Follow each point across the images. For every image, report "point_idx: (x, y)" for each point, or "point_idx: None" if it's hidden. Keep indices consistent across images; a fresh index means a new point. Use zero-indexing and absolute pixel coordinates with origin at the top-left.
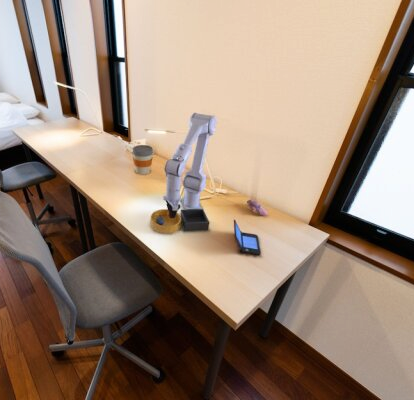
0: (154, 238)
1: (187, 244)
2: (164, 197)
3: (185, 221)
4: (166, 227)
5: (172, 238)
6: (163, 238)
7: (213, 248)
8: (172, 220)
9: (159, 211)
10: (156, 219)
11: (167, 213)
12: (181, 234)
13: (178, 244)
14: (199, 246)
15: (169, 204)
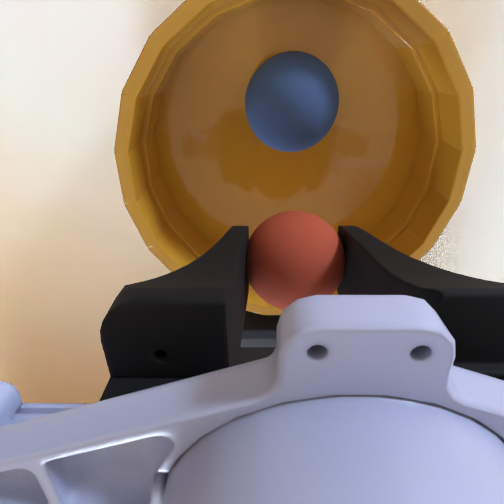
0: (67, 8)
1: (47, 278)
2: (363, 359)
3: None
4: (120, 160)
5: (96, 186)
6: (83, 107)
7: (44, 395)
8: (331, 224)
9: (452, 115)
10: (300, 55)
11: (298, 215)
12: (154, 259)
13: (32, 220)
14: (44, 338)
15: (202, 351)
